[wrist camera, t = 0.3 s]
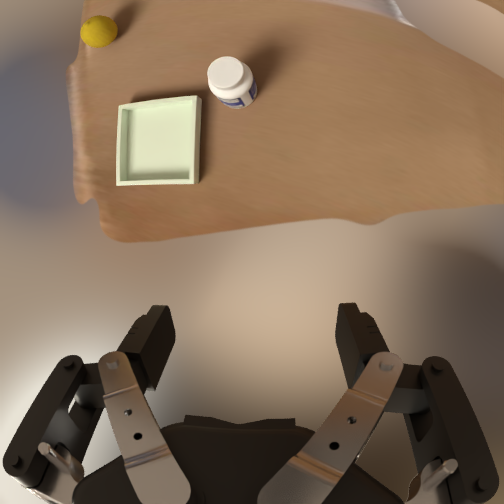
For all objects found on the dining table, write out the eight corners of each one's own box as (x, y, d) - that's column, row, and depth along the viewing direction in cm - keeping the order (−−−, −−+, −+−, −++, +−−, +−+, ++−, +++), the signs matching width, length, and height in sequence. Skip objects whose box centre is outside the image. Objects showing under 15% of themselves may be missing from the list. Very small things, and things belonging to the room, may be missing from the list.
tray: (127, 108, 36) (118, 105, 33) (201, 99, 35) (196, 95, 32) (125, 184, 39) (116, 185, 37) (199, 182, 38) (193, 183, 36)
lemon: (93, 48, 33) (66, 34, 25) (112, 23, 31) (87, 6, 23) (111, 57, 33) (84, 42, 26) (131, 30, 32) (107, 12, 24)
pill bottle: (239, 68, 33) (228, 42, 24) (265, 92, 34) (260, 70, 25) (211, 92, 34) (192, 73, 26) (236, 116, 35) (223, 102, 27)
